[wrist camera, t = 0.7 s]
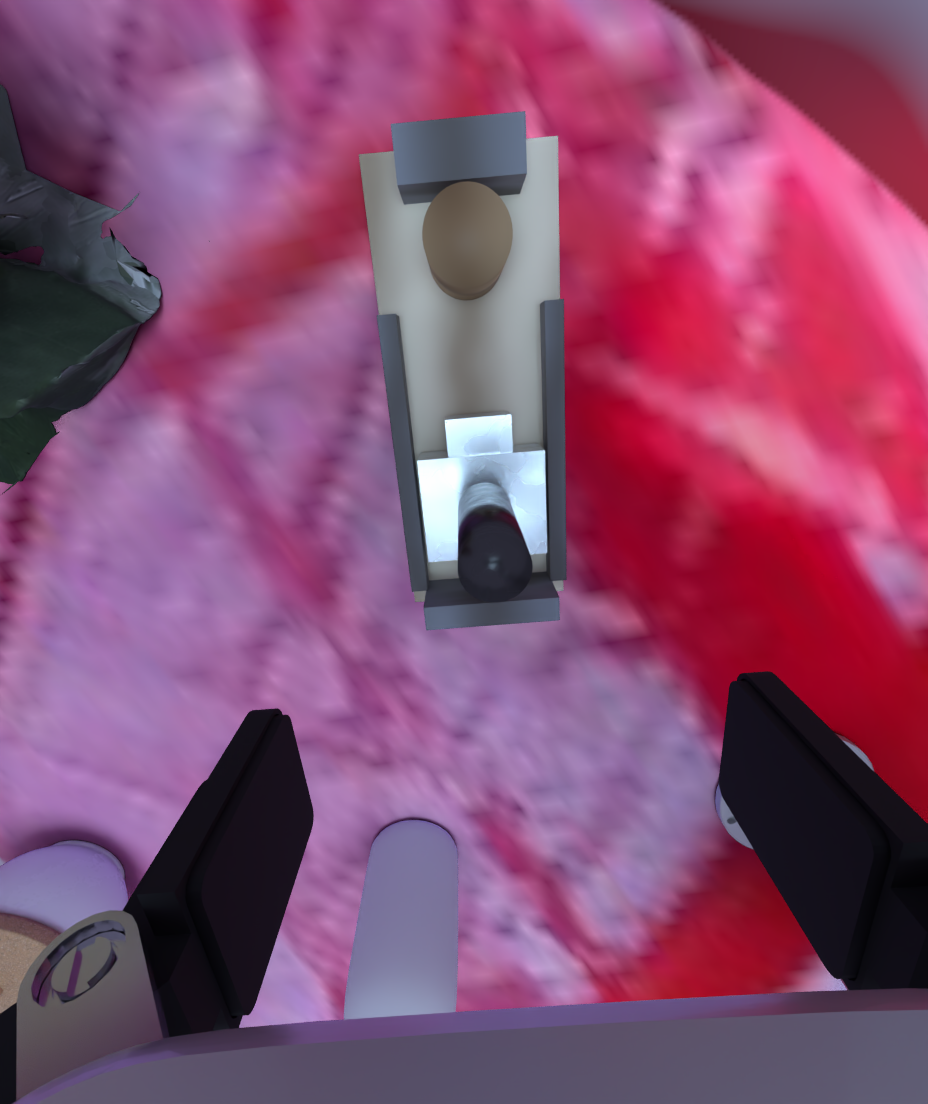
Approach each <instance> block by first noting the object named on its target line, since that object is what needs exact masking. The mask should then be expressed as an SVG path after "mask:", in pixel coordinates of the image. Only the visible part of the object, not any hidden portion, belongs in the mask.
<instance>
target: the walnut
mask: <svg viewBox="0 0 928 1104" xmlns="http://www.w3.org/2000/svg"><path fill="white" fill-rule="evenodd" d="M512 239H513V228H512V222H511V217H510V214H509V211H508V209H507V207H506V205H505V204H504V202H503V201H502V199H501V198H500V197H499V196H498V194H496V193H495V192H494V191H493V190H492V189H490V188H489V187H487V186H485V185H483V184H480V183H477V182H470V181H467V182H458V183H455V184H452V185H450V186H448V187H446V188H445V189H443V190H442V191H441V192H440V193H439V194H438V195H437V196H436V197H435V198H434V199H433V201H432V202H431V204H430V205H429V207H428V209H427V212H426V214H425V217H424V222H423V229H422V240H423V246H424V250H425V253H426V257H427V260H428V264H429V267H430V271H431V274H432V276H433V279H434V280H435V282H436V284H437V285H438V286H439V288H440V289H441V290H442V291H443V292H445V293H446V294H447V295H449V296H450V297H453V298H455V299H459V300H474V299H477V298H480V297H482V296H484V295H485V294H487V293H488V292H489V291H490V290H491V289H492V288H493V287H494V286H495V284H496V283H497V281H498V279H499V277H500V275H501V272H502V270H503V268H504V265H505V263H506V261H507V258H508V256H509V253H510V250H511V246H512Z"/></svg>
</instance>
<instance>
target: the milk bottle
mask: <svg viewBox="0 0 928 1104" xmlns="http://www.w3.org/2000/svg"><path fill="white" fill-rule="evenodd" d="M457 972H458V852H457V847H456V845H455V843H454V841H453V839H452V838H451V836H450V835H449V834H448V833H447V832H446V831H445V830H444V829H442V828H441V827H440V826H438V825H435V824H433V823H430V822H427V821H421V820H406V821H400V822H397V823H394V824H392V825H390V826H388V827H386V828H385V829H384V830H383V831H381V832H380V834H379V835H378V836H377V837H376V839H375V840H374V842H373V844H372V847H371V851H370V855H369V860H368V865H367V871H366V876H365V881H364V887H363V892H362V898H361V904H360V909H359V915H358V920H357V926H356V932H355V937H354V943H353V949H352V955H351V960H350V966H349V973H348V980H347V987H346V994H345V1007H344V1019H359V1018H374V1017H389V1016H404V1015H419V1014H434V1013H449V1012H455V1010H456V998H457Z"/></svg>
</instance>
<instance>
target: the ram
mask: <svg viewBox="0 0 928 1104" xmlns="http://www.w3.org/2000/svg"><path fill="white" fill-rule="evenodd" d="M445 427H446V438H447V449H448V450H445V451H432V452H421V453H420V455H419V458H418V460H417V464H418V473H419V482H420V491H421V500H422V509H423V518H424V526H425V535H426V544H427V553H428V562H439V561H452V560H458V576H459V579H460V582H461V584H462V586H463V587H464V589H465V590H466V591H467V592H468V593H469V594H470V595H472V596H473V597H475V598H477V599H479V600H482V601H485V602H492V603H494V602H503V601H507V600H509V599H512V598H514V597H515V596H517V595H518V594H520V593H521V592H522V591H523V590H524V589H525V587H526V586H527V584H528V583H529V581H530V578H531V575H532V569H533V565H532V559H531V555H530V554H542V553H547V520H546V477H545V450H544V449H543V448H542V447H541V446H540V445H539V444H538V443H530V444H518V445H513V441H512V419H511V414H510V413H509V412H508V411H498V412H486V413H474V414H462V415H450V416H446V417H445Z"/></svg>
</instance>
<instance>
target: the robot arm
mask: <svg viewBox="0 0 928 1104" xmlns="http://www.w3.org/2000/svg"><path fill="white" fill-rule="evenodd" d="M715 804H716V810H717V814H718V816H719V818H720V820H721V822H722V824H723V825H724V827H725V828H726V830H727V832H728V833H729V834H730V835H731V836H732V837H733V838H734V839H735V840H736V841H737V842H739V843H741V844H743V845H744V846H746V847H749V848H751V849H754V850H755V852H756V854H757V855H758V857H759V859H760V860H761V862H762V864H763V865H764V867H765V869H766V870H767V872H768V874H769V875H770V877H771V878H772V880H773V882H774V883H775V885H776V887H777V888H778V890H779V892H780V893H781V895H782V897H783V898H784V900H785V902H786V903H787V905H788V906H789V908H790V910H791V911H792V913H793V915H794V916H795V918H796V920H797V921H798V923H799V925H800V926H801V928H802V930H803V931H804V933H805V934H806V936H807V938H808V939H809V941H810V943H811V944H812V946H813V948H814V949H815V951H816V953H817V954H818V956H819V958H820V959H821V961H822V962H823V964H824V966H825V967H826V969H827V970H828V972H829V973H830V974H831V975H832V976H833V977H834V978H836V979H841V980H842V982H843V984H844V985H845V987H846V989H847V990H843V991H814V992H792V993H774V994H755V995H737V996H718V997H700V998H682V999H663V1000H645V1001H629V1002H612V1003H595V1004H578V1005H561V1006H545V1007H529V1008H512V1009H496V1010H480V1011H464V1012H449V1013H434V1014H419V1015H404V1016H389V1017H374V1018H359V1019H344V1020H329V1021H315V1022H304V1023H292V1024H281V1025H269V1026H258V1027H246V1028H239V1025H240V1022H241V1019H242V1016H243V1015H249V1014H250V1013H251V1012H252V1010H253V1008H254V1006H255V1003H256V1000H257V997H258V994H259V991H260V988H261V985H262V982H263V979H264V976H265V972H266V969H267V966H268V963H269V960H270V957H271V954H272V951H273V948H274V945H275V941H276V938H277V935H278V932H279V929H280V926H281V923H282V920H283V917H284V914H285V910H286V907H287V904H288V901H289V898H290V895H291V892H292V889H293V886H294V883H295V879H296V876H297V873H298V870H299V867H300V864H301V861H302V858H303V855H304V852H305V848H306V845H307V842H308V839H309V836H310V833H311V830H312V826H313V807H312V803H311V799H310V795H309V791H308V787H307V783H306V779H305V775H304V771H303V767H302V763H301V759H300V755H299V751H298V747H297V743H296V739H295V735H294V731H293V726H292V722H291V719H290V717H289V716H288V715H282V712H281V711H280V709H264V710H252V711H250V712H249V713H248V714H247V716H246V717H245V719H244V721H243V722H242V724H241V726H240V727H239V729H238V730H237V732H236V734H235V735H234V737H233V739H232V740H231V742H230V744H229V745H228V747H227V748H226V750H225V752H224V753H223V755H222V757H221V758H220V760H219V761H218V763H217V765H216V766H215V768H214V770H213V771H212V773H211V774H210V776H209V778H208V779H207V780H206V781H204V782H203V783H202V784H201V786H200V787H199V788H198V790H197V791H196V793H195V795H194V796H193V798H192V799H191V801H190V803H189V804H188V806H187V807H186V809H185V811H184V812H183V814H182V815H181V817H180V819H179V820H178V822H177V823H176V825H175V827H174V828H173V830H172V831H171V833H170V835H169V836H168V838H167V839H166V841H165V843H164V844H163V846H162V848H161V849H160V851H159V852H158V854H157V856H156V857H155V859H154V860H153V862H152V864H151V865H150V867H149V868H148V870H147V872H146V873H145V875H144V876H143V878H142V880H141V881H140V883H139V884H138V886H137V888H136V889H135V891H134V893H133V894H132V896H131V897H130V899H129V901H128V902H127V904H126V905H125V907H124V909H123V910H122V911H117V910H109V911H105V912H101V913H98V914H94V915H92V916H90V917H88V918H86V919H83V920H81V921H79V922H77V923H76V924H74V925H73V926H71V927H70V928H68V929H67V930H66V931H64V932H63V933H61V934H60V935H59V936H57V937H56V938H55V939H54V940H53V941H52V942H51V943H50V944H49V945H48V946H47V947H46V948H45V949H44V950H43V951H42V952H41V953H40V954H39V956H38V957H37V958H36V959H35V961H34V962H33V963H32V965H31V966H30V967H29V969H28V971H27V973H26V974H25V976H24V978H23V980H22V982H21V984H20V988H19V992H18V997H17V1002H16V1003H15V1004H13V1005H12V1006H10V1007H9V1008H8V1009H6V1010H5V1011H3V1012H2V1013H0V1104H928V824H927V823H926V822H925V821H924V820H923V819H922V818H921V817H920V816H919V815H918V814H917V813H916V812H915V811H914V810H913V809H912V808H911V807H910V806H909V805H908V804H907V803H906V802H905V801H904V800H903V799H902V798H901V797H899V796H898V795H897V794H896V793H895V792H894V791H893V790H892V789H891V788H890V787H889V786H888V785H887V784H886V783H885V782H884V781H883V780H882V779H881V778H880V777H879V776H878V775H877V774H876V773H875V772H874V769H873V766H872V764H871V762H870V760H869V759H868V757H867V756H866V755H865V754H864V753H863V752H862V751H861V750H860V749H859V748H858V747H857V746H856V745H855V744H854V743H853V742H851V741H850V740H848V739H847V738H845V737H843V736H841V735H838V734H836V733H834V732H833V731H832V730H831V729H830V728H829V727H828V726H827V725H826V724H825V723H824V722H823V721H822V720H821V719H820V718H819V717H818V716H817V715H816V714H815V713H814V712H813V711H812V710H811V709H810V708H809V707H808V706H807V705H806V704H805V703H804V702H803V701H801V700H800V699H799V698H798V697H797V696H796V695H795V694H794V693H793V692H792V691H791V690H790V689H789V688H788V687H787V686H786V685H785V684H784V683H783V682H782V681H781V680H780V679H779V678H778V677H777V676H776V675H775V674H773V673H772V672H768V671H767V672H754V673H742V674H740V675H739V676H738V678H737V681H733V682H731V684H730V687H729V695H728V704H727V713H726V722H725V730H724V739H723V748H722V757H721V765H720V774H719V784H718V787H717V790H716V798H715Z"/></svg>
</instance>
